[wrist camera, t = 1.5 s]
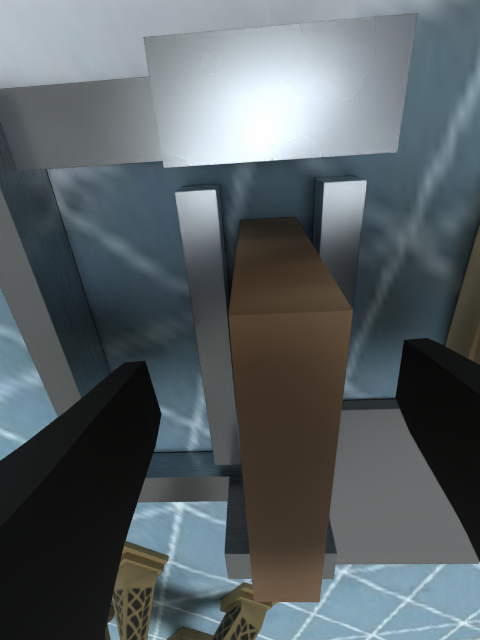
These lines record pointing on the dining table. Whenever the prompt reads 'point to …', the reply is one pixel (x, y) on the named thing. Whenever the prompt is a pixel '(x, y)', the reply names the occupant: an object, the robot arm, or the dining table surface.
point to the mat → (389, 495)
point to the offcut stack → (468, 311)
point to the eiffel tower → (137, 600)
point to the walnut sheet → (287, 401)
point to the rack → (196, 199)
